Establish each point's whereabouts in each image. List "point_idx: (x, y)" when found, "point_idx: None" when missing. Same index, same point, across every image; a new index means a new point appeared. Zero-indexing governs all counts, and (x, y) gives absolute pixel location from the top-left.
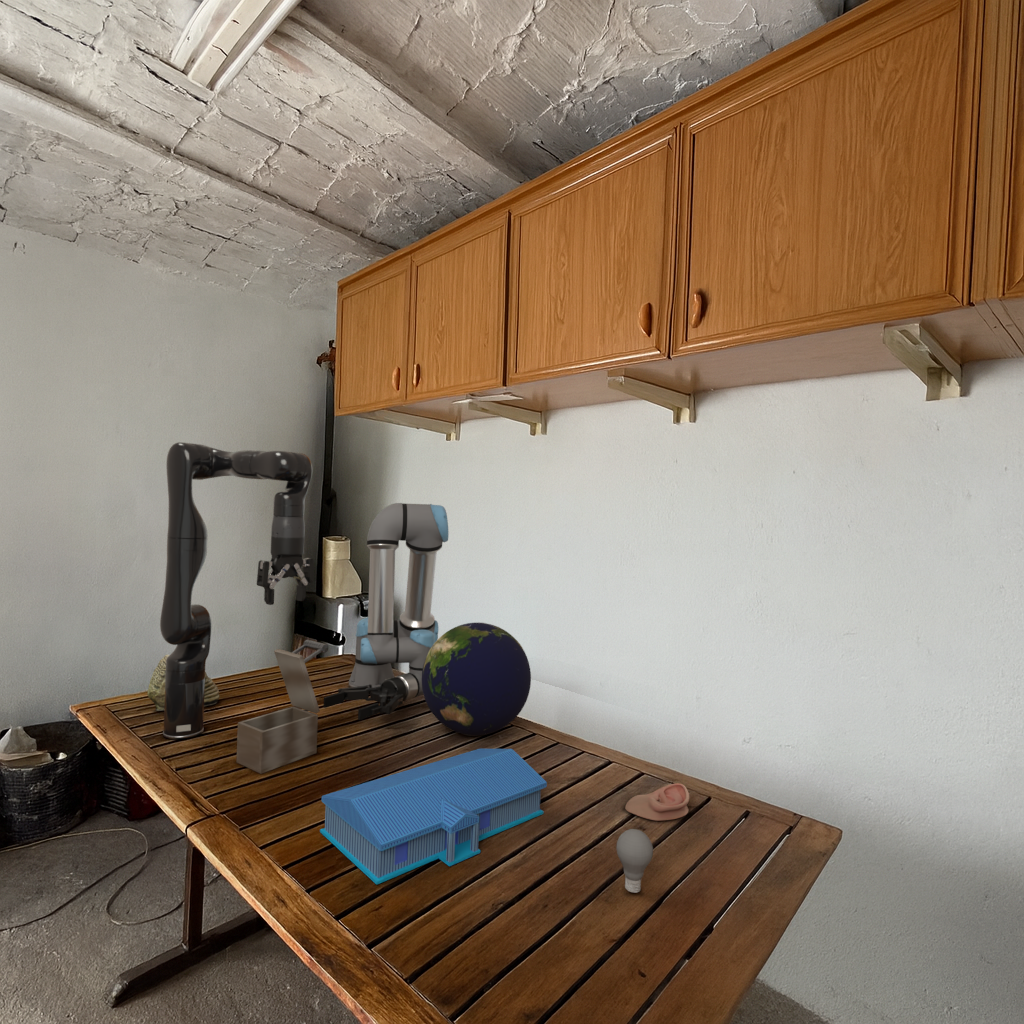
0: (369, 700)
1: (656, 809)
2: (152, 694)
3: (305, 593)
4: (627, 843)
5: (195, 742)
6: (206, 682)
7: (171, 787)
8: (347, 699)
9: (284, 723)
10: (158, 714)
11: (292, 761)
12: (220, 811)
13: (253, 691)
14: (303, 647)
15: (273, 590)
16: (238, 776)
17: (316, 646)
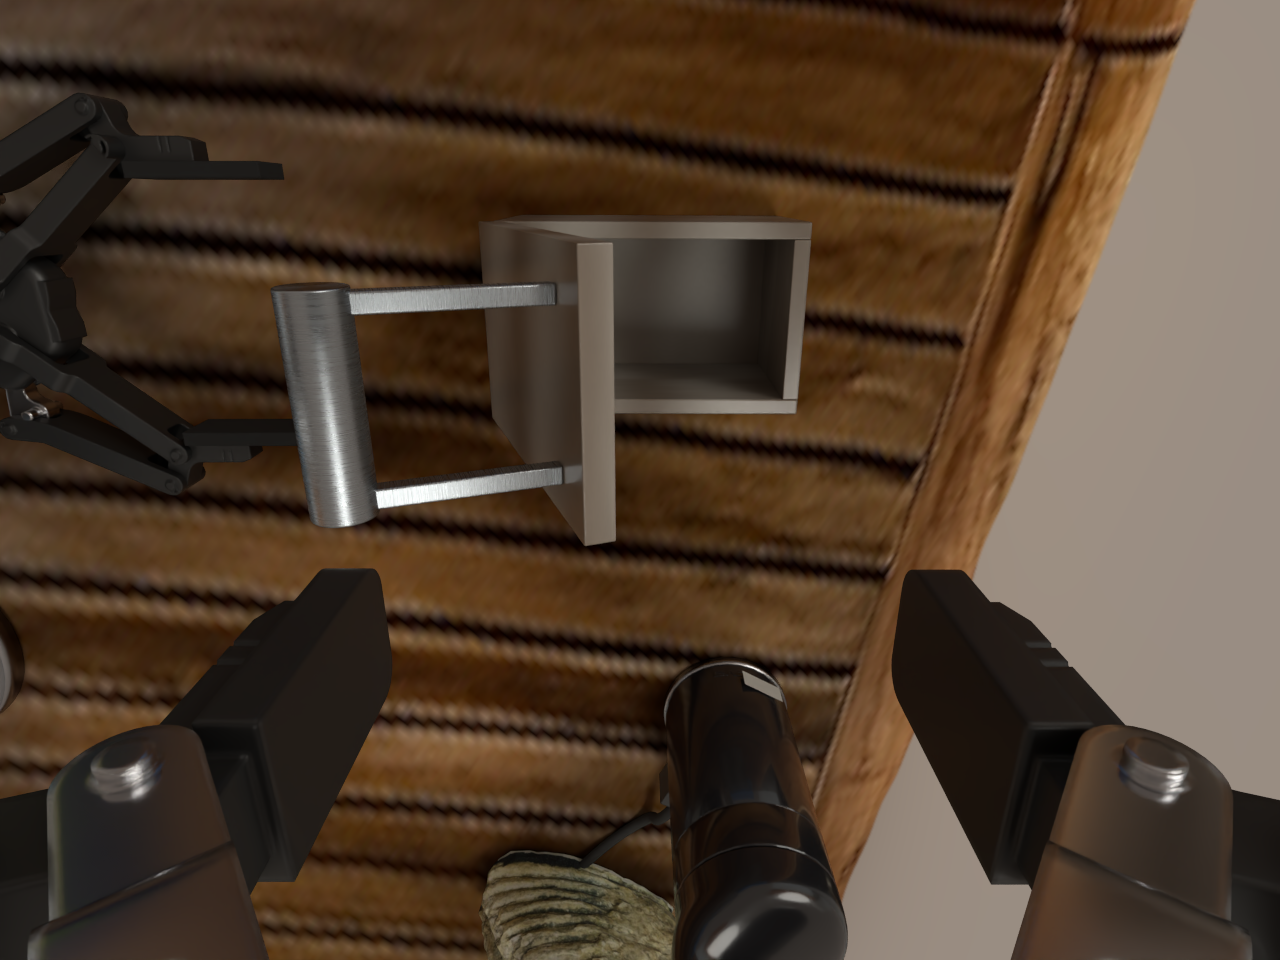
0: (91, 351)
1: None
2: None
3: (236, 647)
4: None
5: (745, 618)
6: (529, 932)
7: (1011, 357)
8: (183, 421)
9: None
10: None
11: (637, 215)
12: (1055, 51)
13: (344, 875)
14: (397, 484)
15: (1038, 707)
16: (836, 263)
17: (352, 358)
